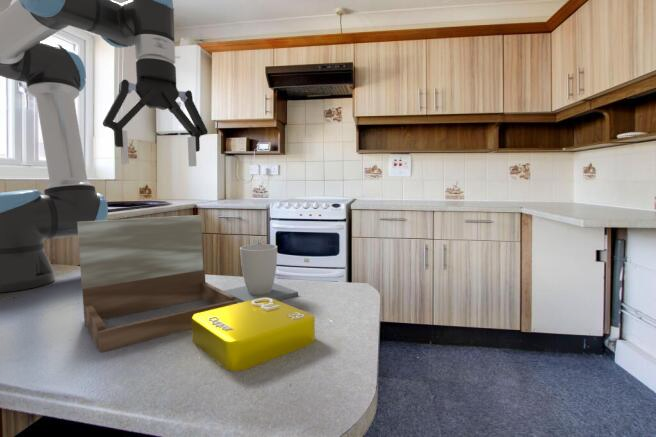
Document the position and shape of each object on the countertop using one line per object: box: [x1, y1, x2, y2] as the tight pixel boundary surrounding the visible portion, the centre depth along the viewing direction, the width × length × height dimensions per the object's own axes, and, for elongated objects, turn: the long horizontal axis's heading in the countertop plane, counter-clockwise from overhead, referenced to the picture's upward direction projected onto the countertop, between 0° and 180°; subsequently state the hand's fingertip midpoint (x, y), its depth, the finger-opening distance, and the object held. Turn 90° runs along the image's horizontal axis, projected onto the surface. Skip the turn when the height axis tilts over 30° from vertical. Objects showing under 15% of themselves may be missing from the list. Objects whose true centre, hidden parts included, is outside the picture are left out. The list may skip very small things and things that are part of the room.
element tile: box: [191, 297, 316, 372], centre depth 57 cm, size 15×15×5 cm
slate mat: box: [223, 282, 299, 303], centre depth 80 cm, size 12×12×1 cm
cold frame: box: [77, 214, 239, 353], centre depth 65 cm, size 17×22×18 cm
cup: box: [239, 243, 278, 295], centre depth 80 cm, size 8×8×10 cm
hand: (160, 165), depth 77 cm, fingers open, 13 cm apart
